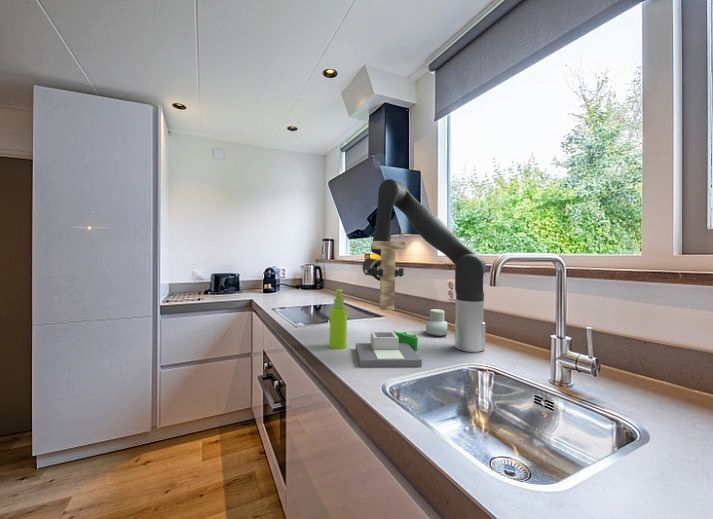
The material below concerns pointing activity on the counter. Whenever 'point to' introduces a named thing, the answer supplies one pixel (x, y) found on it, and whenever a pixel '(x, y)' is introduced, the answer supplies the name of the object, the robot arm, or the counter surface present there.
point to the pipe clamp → (408, 339)
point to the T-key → (387, 271)
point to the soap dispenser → (338, 323)
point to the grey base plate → (386, 352)
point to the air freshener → (436, 323)
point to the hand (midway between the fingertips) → (389, 273)
